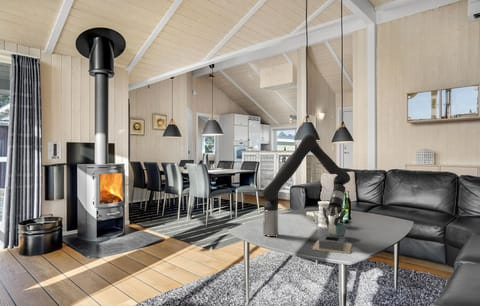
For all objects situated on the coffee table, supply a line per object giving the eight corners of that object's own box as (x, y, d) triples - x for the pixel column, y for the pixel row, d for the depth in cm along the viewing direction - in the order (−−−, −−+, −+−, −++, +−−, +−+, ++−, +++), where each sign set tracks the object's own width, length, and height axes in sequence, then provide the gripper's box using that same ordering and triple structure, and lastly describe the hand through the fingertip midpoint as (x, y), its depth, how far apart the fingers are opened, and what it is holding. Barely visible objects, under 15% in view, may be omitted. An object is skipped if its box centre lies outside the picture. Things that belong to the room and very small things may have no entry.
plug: (328, 233, 172) (327, 207, 172) (329, 231, 175) (328, 206, 175) (335, 234, 170) (334, 207, 170) (336, 232, 173) (335, 206, 174)
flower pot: (338, 241, 184) (338, 226, 184) (326, 238, 192) (326, 224, 192) (347, 238, 190) (346, 224, 190) (335, 235, 197) (334, 222, 197)
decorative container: (337, 227, 218) (337, 202, 218) (324, 229, 214) (324, 204, 214) (327, 224, 229) (327, 200, 229) (314, 225, 225) (314, 201, 225)
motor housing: (312, 249, 169) (312, 240, 169) (317, 241, 184) (317, 233, 184) (349, 253, 161) (349, 244, 161) (352, 245, 176) (351, 236, 176)
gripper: (323, 195, 183) (317, 219, 173) (347, 197, 175) (342, 222, 165) (326, 203, 187) (320, 226, 177) (350, 204, 179) (345, 229, 169)
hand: (331, 224), depth 171 cm, fingers closed on plug, 4 cm apart
